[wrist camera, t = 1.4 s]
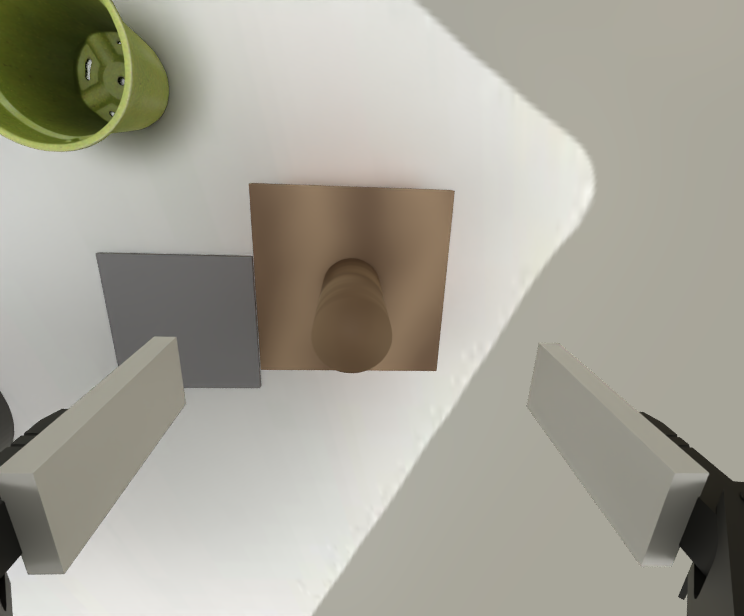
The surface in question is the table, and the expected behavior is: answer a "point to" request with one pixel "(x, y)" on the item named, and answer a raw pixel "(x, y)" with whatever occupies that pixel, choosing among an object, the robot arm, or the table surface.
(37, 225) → the table surface
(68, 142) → the plant pot
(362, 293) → the lid
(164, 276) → the mat
